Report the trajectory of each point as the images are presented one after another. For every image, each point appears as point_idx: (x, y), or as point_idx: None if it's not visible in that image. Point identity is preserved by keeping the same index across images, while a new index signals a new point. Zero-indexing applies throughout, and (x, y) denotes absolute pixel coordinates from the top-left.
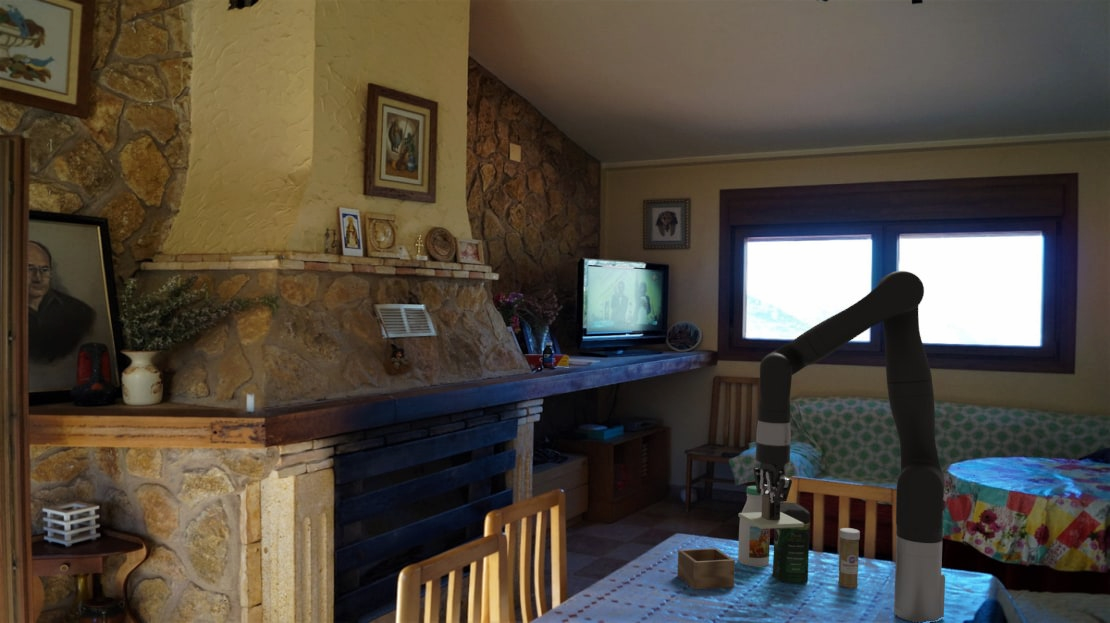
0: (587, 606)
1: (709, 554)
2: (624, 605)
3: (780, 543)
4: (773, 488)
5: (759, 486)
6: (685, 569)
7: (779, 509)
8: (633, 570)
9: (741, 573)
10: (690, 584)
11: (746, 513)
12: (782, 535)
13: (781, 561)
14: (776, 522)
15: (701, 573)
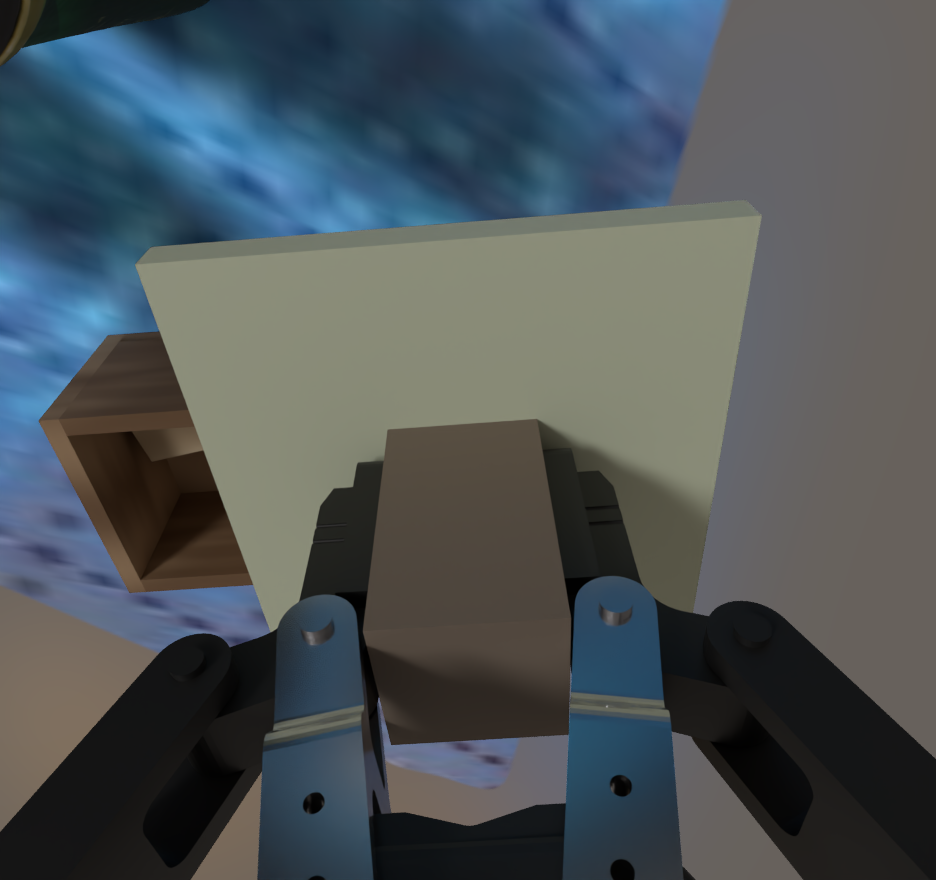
0: (462, 746)
1: (91, 442)
2: None
3: (65, 32)
4: (363, 728)
5: (218, 817)
6: None
7: (627, 542)
8: (90, 603)
9: (11, 170)
10: None
11: (289, 608)
12: (41, 31)
13: (149, 10)
14: (644, 492)
15: None
